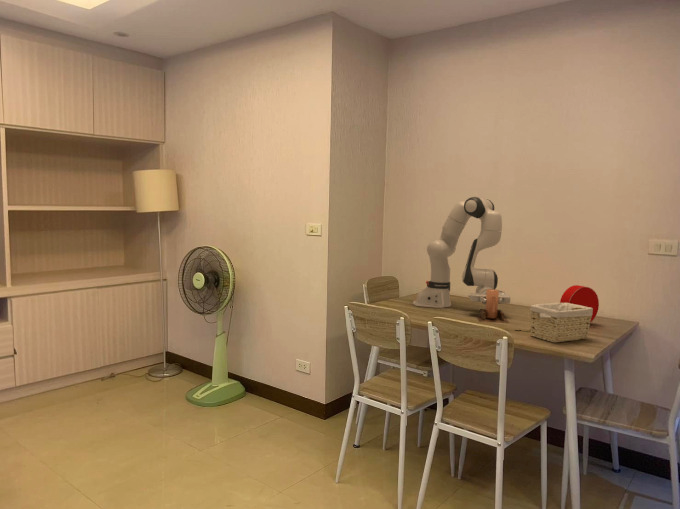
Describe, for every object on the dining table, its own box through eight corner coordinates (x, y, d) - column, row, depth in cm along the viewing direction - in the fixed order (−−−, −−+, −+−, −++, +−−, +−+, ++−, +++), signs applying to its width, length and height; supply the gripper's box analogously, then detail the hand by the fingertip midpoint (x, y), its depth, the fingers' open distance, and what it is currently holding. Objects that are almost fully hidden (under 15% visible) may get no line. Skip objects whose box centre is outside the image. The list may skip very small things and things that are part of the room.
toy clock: (588, 322, 271) (590, 284, 269) (597, 325, 265) (600, 286, 263) (558, 324, 263) (560, 285, 262) (566, 327, 258) (569, 287, 256)
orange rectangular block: (486, 318, 262) (488, 291, 261) (484, 315, 271) (485, 288, 269) (499, 319, 261) (501, 292, 260) (495, 316, 270) (497, 289, 268)
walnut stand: (479, 324, 260) (479, 313, 260) (474, 317, 275) (474, 307, 275) (510, 325, 259) (510, 315, 259) (503, 318, 274) (504, 309, 273)
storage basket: (562, 331, 250) (564, 301, 248) (592, 339, 235) (595, 307, 234) (526, 336, 239) (528, 304, 237) (555, 345, 224) (557, 311, 223)
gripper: (468, 289, 280) (472, 294, 266) (507, 291, 278) (513, 296, 264) (467, 301, 280) (471, 306, 267) (506, 303, 279) (512, 308, 265)
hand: (492, 301), depth 265 cm, fingers closed on orange rectangular block, 6 cm apart
